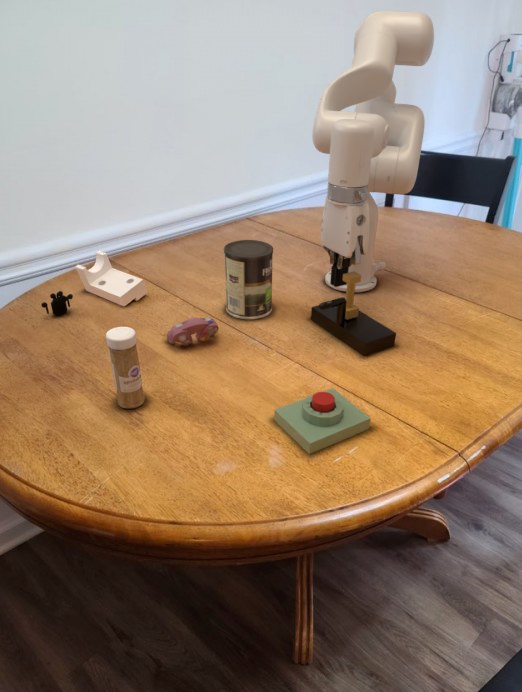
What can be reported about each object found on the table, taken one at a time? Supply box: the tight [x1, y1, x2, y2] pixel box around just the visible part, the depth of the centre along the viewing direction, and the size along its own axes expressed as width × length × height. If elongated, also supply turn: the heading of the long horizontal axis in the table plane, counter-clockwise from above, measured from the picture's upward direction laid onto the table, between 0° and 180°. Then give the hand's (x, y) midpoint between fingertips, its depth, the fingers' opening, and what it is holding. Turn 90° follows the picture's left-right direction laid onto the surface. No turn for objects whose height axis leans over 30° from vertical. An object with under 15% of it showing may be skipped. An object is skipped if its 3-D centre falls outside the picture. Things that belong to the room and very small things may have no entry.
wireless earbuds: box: [41, 290, 74, 316], centre depth 120 cm, size 7×2×5 cm, turn 136°
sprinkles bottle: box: [105, 326, 146, 410], centre depth 92 cm, size 5×5×13 cm
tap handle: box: [343, 271, 361, 320], centre depth 115 cm, size 3×3×9 cm
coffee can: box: [223, 239, 274, 320], centre depth 121 cm, size 10×10×14 cm
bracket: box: [75, 249, 149, 307], centre depth 128 cm, size 13×7×8 cm, turn 54°
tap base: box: [310, 296, 397, 357], centre depth 115 cm, size 13×18×9 cm
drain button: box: [312, 391, 335, 413], centre depth 90 cm, size 4×4×2 cm
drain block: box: [273, 388, 372, 455], centre depth 91 cm, size 12×10×4 cm
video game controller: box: [166, 316, 219, 346], centre depth 111 cm, size 10×5×7 cm, turn 117°
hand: (338, 284), depth 116 cm, fingers closed
